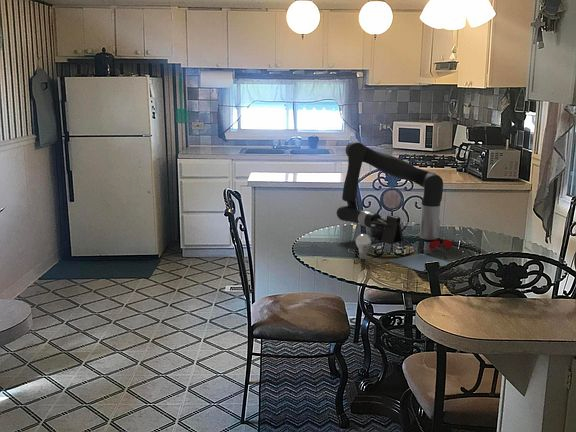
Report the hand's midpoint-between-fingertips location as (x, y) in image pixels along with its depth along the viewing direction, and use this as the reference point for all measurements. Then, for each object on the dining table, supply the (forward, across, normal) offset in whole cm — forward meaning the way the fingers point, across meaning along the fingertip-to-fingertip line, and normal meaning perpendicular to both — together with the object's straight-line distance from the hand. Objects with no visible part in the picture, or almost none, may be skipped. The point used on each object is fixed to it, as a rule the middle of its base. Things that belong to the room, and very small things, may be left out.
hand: (395, 227), depth 275 cm
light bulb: (-2, -18, +13) cm, 22 cm away
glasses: (+13, +23, +14) cm, 30 cm away
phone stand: (-2, 0, +7) cm, 7 cm away
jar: (-29, +19, +13) cm, 37 cm away
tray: (+17, 0, +13) cm, 22 cm away
